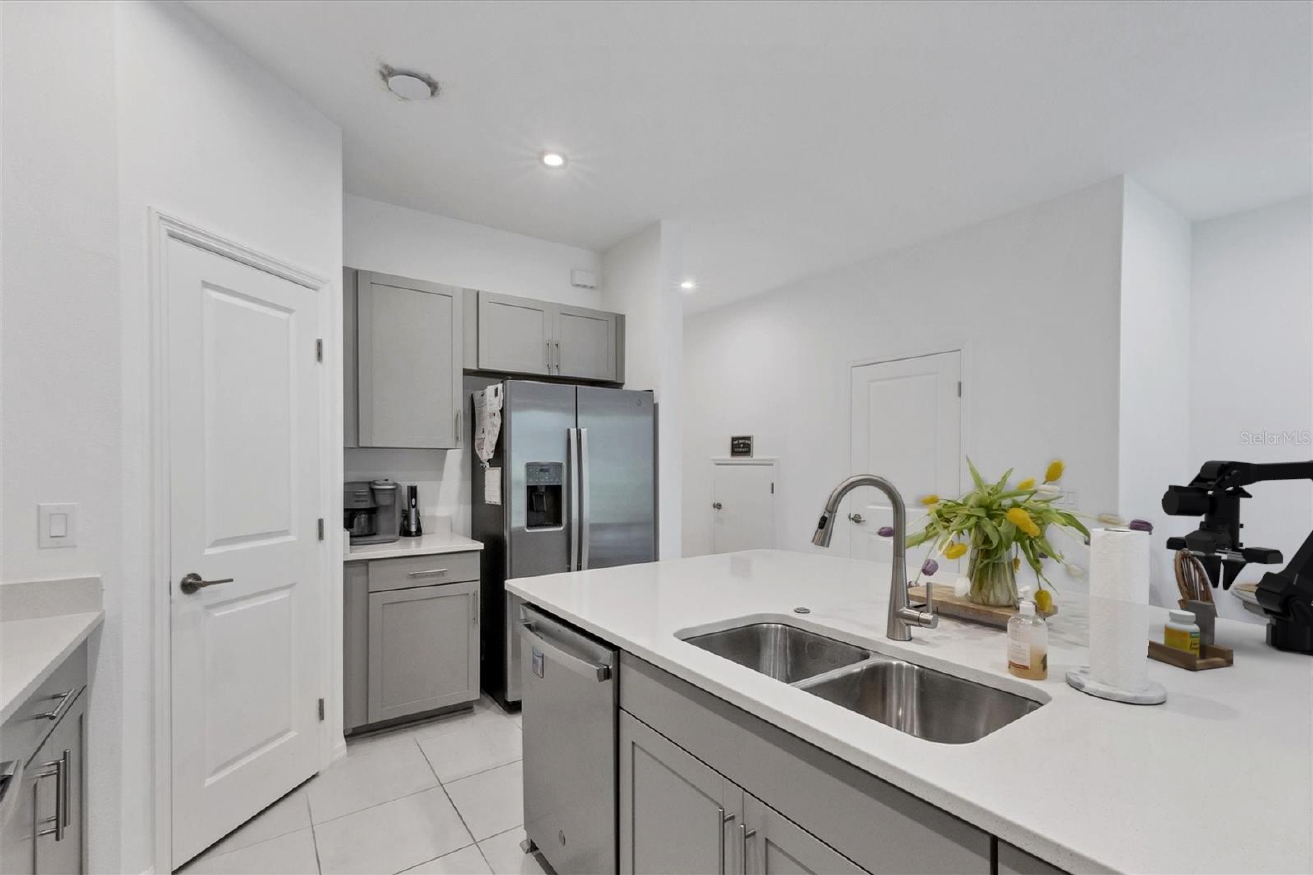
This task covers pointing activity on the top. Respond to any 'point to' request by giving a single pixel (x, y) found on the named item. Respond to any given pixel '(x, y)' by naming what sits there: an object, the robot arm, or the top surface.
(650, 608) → the top surface
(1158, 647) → the wooden display stand
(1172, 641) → the supplement bottle
